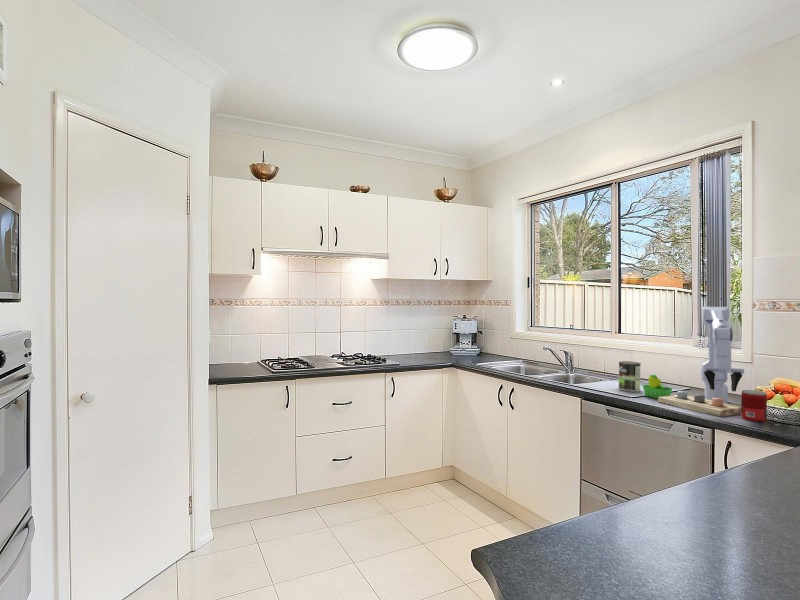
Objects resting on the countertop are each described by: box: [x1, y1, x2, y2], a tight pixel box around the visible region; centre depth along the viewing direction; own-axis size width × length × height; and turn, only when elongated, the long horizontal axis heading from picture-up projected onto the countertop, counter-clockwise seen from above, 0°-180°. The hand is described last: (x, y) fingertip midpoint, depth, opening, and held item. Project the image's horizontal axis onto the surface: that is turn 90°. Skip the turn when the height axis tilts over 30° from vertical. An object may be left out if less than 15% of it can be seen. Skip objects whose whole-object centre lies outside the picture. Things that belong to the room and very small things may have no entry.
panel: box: [657, 394, 741, 417], centre depth 207 cm, size 16×28×2 cm, turn 23°
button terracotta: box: [712, 398, 724, 408], centre depth 199 cm, size 4×4×4 cm
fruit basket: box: [642, 373, 674, 399], centre depth 227 cm, size 11×9×11 cm
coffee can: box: [618, 360, 642, 392], centre depth 247 cm, size 10×10×14 cm
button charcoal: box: [693, 393, 705, 404], centre depth 207 cm, size 4×4×4 cm
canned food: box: [740, 389, 768, 423], centre depth 187 cm, size 8×8×11 cm
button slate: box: [676, 390, 689, 400], centre depth 214 cm, size 4×4×4 cm
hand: (722, 390), depth 192 cm, fingers open, 7 cm apart
